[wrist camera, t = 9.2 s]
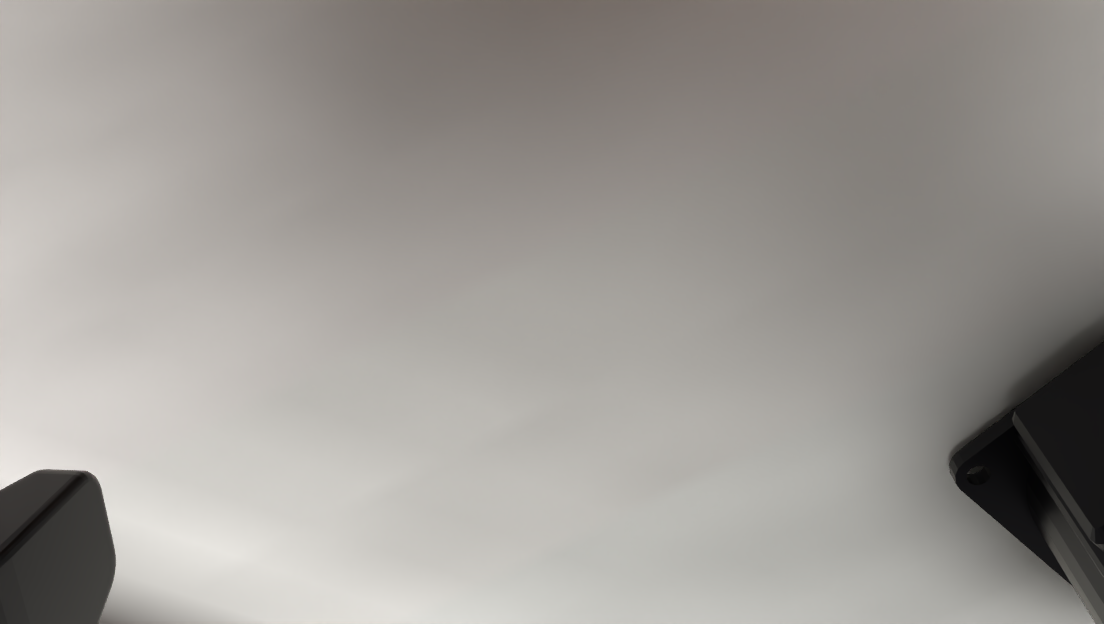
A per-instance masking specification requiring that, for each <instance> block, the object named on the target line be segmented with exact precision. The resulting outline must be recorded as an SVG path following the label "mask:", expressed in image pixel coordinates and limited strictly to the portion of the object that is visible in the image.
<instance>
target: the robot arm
mask: <svg viewBox="0 0 1104 624" xmlns="http://www.w3.org/2000/svg"><path fill="white" fill-rule="evenodd" d="M976 466H984V467H983V468H982V469H981V470H980V471H979V472H977V473H975V474H967V473H968V472H969V471H970V469H972V468H974V467H976ZM949 468H950V473H951V475H952V477H953V479H954V481H955V483H956V484H957V486H958V487H959V489H960V490H961V491H963V492H964V493H965V494H966V495H967V496H968V497H970V498H971V499H972V500H973V501H974V502H975V503H977V504H978V505H979V506H980V507H981V508H982V509H984V510H985V511H986V512H987V513H988V514H989V515H991V516H992V517H993V518H994V519H995V520H996V521H998V522H999V523H1000V524H1001V525H1002V526H1003V527H1004V528H1006V529H1007V530H1008V531H1009V532H1010V533H1011V534H1013V535H1014V536H1015V537H1016V538H1017V539H1018V540H1020V541H1021V542H1022V543H1023V544H1024V545H1025V546H1027V547H1028V548H1029V549H1030V550H1031V551H1032V552H1034V553H1035V554H1036V555H1037V556H1038V557H1039V558H1041V559H1042V560H1043V561H1044V562H1045V563H1046V564H1048V565H1049V566H1050V567H1051V568H1052V569H1053V570H1055V571H1056V572H1057V573H1058V574H1059V575H1060V576H1062V577H1063V578H1064V579H1065V580H1066V581H1067V582H1068V583H1070V584H1071V585H1072V586H1073V587H1074V589H1075V590H1076V592H1077V594H1078V595H1079V597H1080V599H1081V600H1082V602H1083V604H1084V605H1085V607H1086V609H1087V610H1088V612H1089V614H1090V615H1091V617H1092V619H1093V620H1094V622H1095V624H1104V341H1103V342H1102V343H1101V344H1100V345H1098V346H1097V347H1096V348H1094V349H1093V350H1092V351H1090V352H1089V353H1088V354H1086V355H1085V356H1084V357H1082V358H1081V359H1080V360H1078V361H1077V362H1076V363H1074V364H1073V365H1072V366H1070V367H1069V368H1068V369H1067V370H1065V371H1064V372H1063V373H1061V374H1060V375H1059V376H1057V377H1056V378H1055V379H1053V380H1052V381H1051V382H1049V383H1048V384H1047V385H1045V386H1044V387H1043V388H1041V389H1040V390H1039V391H1037V392H1036V393H1035V394H1033V395H1032V396H1031V397H1030V398H1028V399H1027V400H1026V401H1024V402H1023V403H1022V404H1020V405H1019V406H1018V407H1016V408H1015V409H1014V410H1012V411H1011V412H1010V413H1008V414H1007V415H1006V416H1004V417H1003V418H1002V419H1000V420H999V421H998V422H996V423H995V424H994V425H993V426H991V427H990V428H989V429H987V430H986V431H985V432H983V433H982V434H981V435H979V436H978V437H977V438H975V439H974V440H973V441H971V442H970V443H969V444H967V445H966V446H965V447H963V448H962V449H961V450H959V451H958V452H957V453H956V454H955V455H954V456H953V457H952V459H951V462H950V464H949ZM115 566H116V555H115V549H114V544H113V540H112V535H111V530H110V526H109V521H108V517H107V512H106V508H105V503H104V499H103V494H102V490H101V487H100V484H99V482H98V480H97V478H96V477H95V476H94V475H93V474H91V473H89V472H88V471H77V470H51V469H46V470H39V471H36V472H33V473H31V474H29V475H28V476H26V477H24V478H22V479H20V480H18V481H17V482H15V483H13V484H11V485H9V486H7V487H5V488H4V489H2V490H0V624H99V621H100V618H101V615H102V612H103V609H104V607H105V604H106V601H107V598H108V595H109V592H110V590H111V587H112V583H113V580H114V575H115Z"/></svg>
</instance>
